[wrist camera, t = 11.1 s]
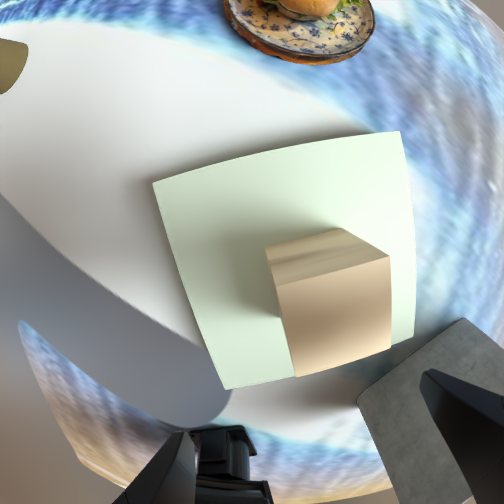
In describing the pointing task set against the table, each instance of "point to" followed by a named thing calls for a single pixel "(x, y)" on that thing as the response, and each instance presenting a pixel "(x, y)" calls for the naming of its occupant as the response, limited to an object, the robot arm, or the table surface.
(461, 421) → the robot arm
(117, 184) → the table surface
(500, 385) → the hip flask
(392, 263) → the plinth
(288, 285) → the birch block
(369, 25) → the burger
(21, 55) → the cork
